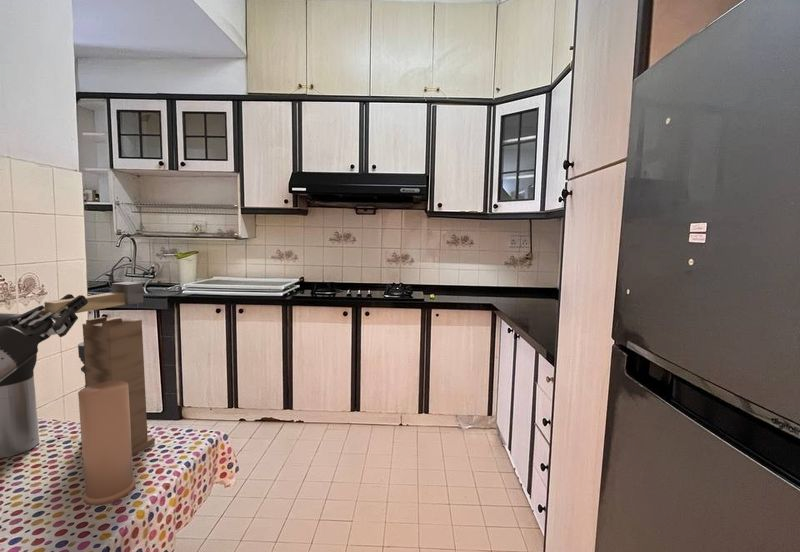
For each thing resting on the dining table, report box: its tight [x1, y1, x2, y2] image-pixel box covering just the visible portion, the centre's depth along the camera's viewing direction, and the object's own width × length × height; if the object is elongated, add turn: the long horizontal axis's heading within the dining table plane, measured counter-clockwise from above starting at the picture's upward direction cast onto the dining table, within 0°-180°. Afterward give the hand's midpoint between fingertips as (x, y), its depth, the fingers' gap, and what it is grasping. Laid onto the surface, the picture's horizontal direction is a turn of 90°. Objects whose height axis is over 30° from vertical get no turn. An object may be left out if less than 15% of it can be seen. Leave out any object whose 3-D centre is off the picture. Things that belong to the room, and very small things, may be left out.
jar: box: [77, 381, 136, 506], centre depth 80 cm, size 9×9×22 cm
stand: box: [82, 316, 156, 458], centre depth 94 cm, size 10×10×33 cm
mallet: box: [43, 281, 145, 317], centre depth 88 cm, size 5×19×5 cm, turn 164°
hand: (78, 298), depth 85 cm, fingers closed on mallet, 2 cm apart
